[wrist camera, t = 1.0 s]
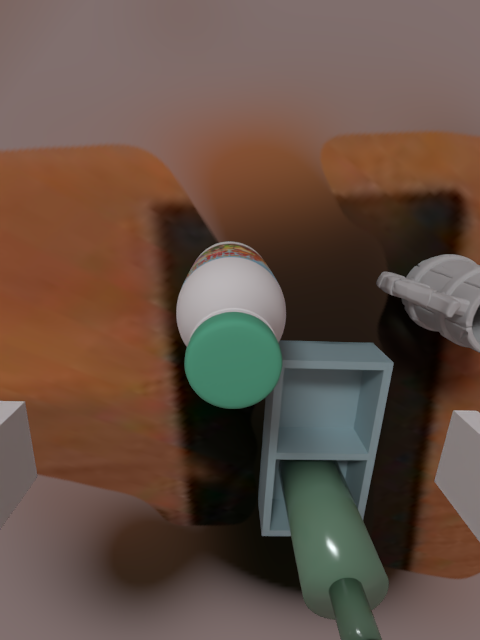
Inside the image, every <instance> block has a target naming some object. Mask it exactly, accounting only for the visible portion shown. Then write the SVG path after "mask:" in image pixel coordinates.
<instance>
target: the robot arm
mask: <svg viewBox="0 0 480 640" xmlns="http://www.w3.org/2000/svg"><path fill="white" fill-rule="evenodd" d="M36 478H37V471H36V465H35V459H34V453H33V447H32V441H31V435H30V429H29V423H28V417H27V411H26V406H25V402H18V401H0V529H1V528H2V526H3V525H4V524H5V522H6V521H7V519H8V518H9V516H10V514H12V512H13V511H14V509H15V508H16V506H17V505H18V504H19V502H20V501H21V499H22V498H23V497H24V495H25V494H26V492H27V491H28V489H29V488H30V487H31V485H32V484H33V482H34V481H35V480H36ZM435 483H436V484H437V485H438V487H439V488H440V489H441V491H442V492H443V493H444V495H445V496H446V497H447V499H448V500H449V501H450V503H451V504H452V505H453V507H454V508H455V509H456V511H457V512H458V514H459V515H460V516H461V518H462V519H463V520H464V522H465V523H466V524H467V526H468V527H469V528H470V530H471V531H472V532H473V534H474V535H475V536H476V538H477V539H478V540H479V542H480V413H479V412H478V411H457V410H453V413H452V417H451V421H450V425H449V428H448V432H447V436H446V440H445V444H444V447H443V451H442V455H441V459H440V462H439V466H438V470H437V474H436V477H435Z"/></svg>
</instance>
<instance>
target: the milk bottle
mask: <svg viewBox="0 0 480 640" xmlns="http://www.w3.org/2000/svg"><path fill="white" fill-rule="evenodd" d="M285 321H286V307H285V300H284V296H283V293H282V291H281V288H280V286H279V284H278V282H277V280H276V278H275V277H274V275H273V274H272V272H271V270H270V269H269V267H268V266H267V264H266V263H265V261H264V260H263V259H262V257H261V256H260V255H259V254H258V253H257V252H256V251H255V250H253V249H252V248H250V247H249V246H247V245H245V244H242V243H238V242H221V243H218V244H215V245H213V246H211V247H209V248H208V249H206V250H205V251H204V252H203V253H202V254H201V255H200V256H199V257H198V258H197V260H196V261H195V263H194V264H193V266H192V268H191V270H190V272H189V274H188V276H187V278H186V280H185V282H184V284H183V286H182V288H181V291H180V294H179V297H178V302H177V324H178V328H179V332H180V335H181V337H182V339H183V341H184V343H185V345H186V346H187V349H186V354H185V372H186V375H187V378H188V381H189V383H190V385H191V387H192V388H193V390H194V391H195V392H196V393H197V394H198V395H199V396H200V397H201V398H202V399H204V400H205V401H207V402H208V403H210V404H212V405H215V406H218V407H221V408H227V409H239V408H245V407H249V406H251V405H254V404H256V403H258V402H260V401H261V400H263V399H264V398H266V397H267V396H268V395H269V394H270V393H271V392H272V390H273V389H274V388H275V386H276V385H277V383H278V381H279V378H280V375H281V371H282V353H281V349H280V346H279V341H280V339H281V336H282V334H283V331H284V327H285Z"/></svg>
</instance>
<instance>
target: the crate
mask: <svg viewBox="0 0 480 640" xmlns="http://www.w3.org/2000/svg"><path fill="white" fill-rule="evenodd" d="M279 346H280V349H281V353H282V371H281V375H280V378H279V381H278V383H277V385H276V386H275V388H274V389H273V390H272V392H271V393H270V394H269V395H268V396H267V397H266V399H265V414H264V426H263V441H262V453H261V467H260V481H259V494H258V504H259V514H260V523H261V532H262V536H291V533H290V528H289V523H288V517H287V512H286V507H285V502H284V497H283V492H282V487H281V482H280V477H279V471H278V467H279V462H280V460H337V462H338V464H339V467H340V469H341V471H342V474H343V476H344V478H345V481H346V483H347V485H348V488H349V490H350V492H351V494H352V497H353V499H354V501H355V504H356V506H357V508H358V511H359V513H360V515H361V518H362V520H363V517H364V512H365V507H366V502H367V497H368V492H369V486H370V482H371V477H372V471H373V466H374V461H375V456H376V451H377V446H378V441H379V436H380V431H381V425H382V420H383V415H384V410H385V405H386V400H387V395H388V390H389V385H390V379H391V374H392V369H393V364H394V363H393V362H392V361H391V360H390V359H389V358H388V357H387V356H386V355H385V354H384V353H383V352H382V351H381V350H380V349H379V348H377V347H376V346H375V345H374V344H373V343H355V342H353V343H352V342H318V341H317V342H316V341H282V340H280V341H279Z"/></svg>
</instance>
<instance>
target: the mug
mask: <svg viewBox="0 0 480 640" xmlns="http://www.w3.org/2000/svg"><path fill="white" fill-rule="evenodd" d="M377 285H378V287H379V288H380V289H382V290H383V291H384V292H386V293H388V294H390V295H393V296H397V297H400V298H402V303H403V304H404V305H405V307H404V308H405V310H406V312H407V313H408V315H409V316H410V318H411V319H412V320H413V321H414V322H415V323H417V324H418V325H419V326H421V327H423V328H425V329H428V330H431V331H439V332H440V334H441V335H442V336H443V337H445V338H447V339H448V340H450V341H452V342H453V343H455V344H457V345H460V346H463V347H469V348H471V349H473V350H475V351H477V352H479V353H480V265H477V264H476V263H475V262H474V261H472V260H470V259H469V258H466V257H463V256H459V255H454V254H445V255H440V256H436V257H432V258H430V259H427V260H424V261H422V262H420V263H419V264H418V266H415V267H414V268H413V269H412V270H411V271H410V272H409V274H408V275H407V277H406V278H405V277H403V276H401V275H397V274H394V273H390V272H383V273H381V275H380V276H379V278H378V281H377Z"/></svg>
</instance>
